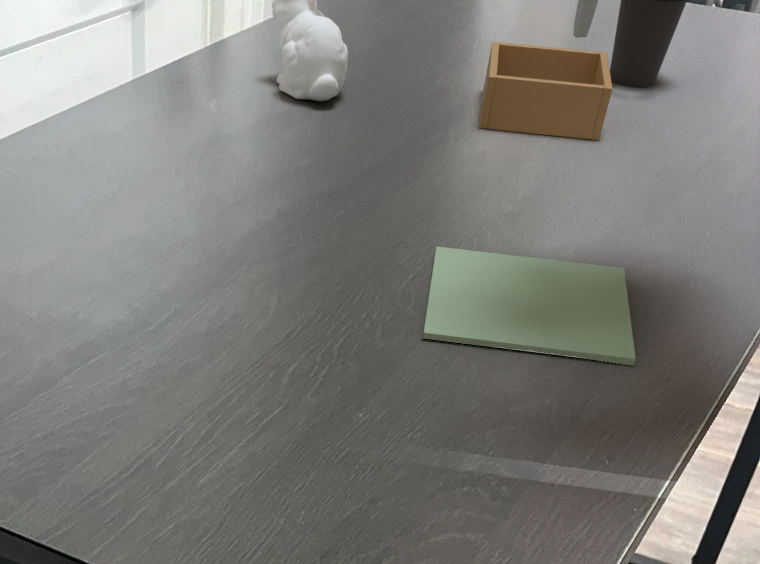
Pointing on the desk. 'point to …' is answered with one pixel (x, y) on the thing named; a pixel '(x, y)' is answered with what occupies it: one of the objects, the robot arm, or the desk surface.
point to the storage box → (546, 91)
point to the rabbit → (309, 51)
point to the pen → (584, 17)
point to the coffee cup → (643, 39)
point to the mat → (530, 305)
